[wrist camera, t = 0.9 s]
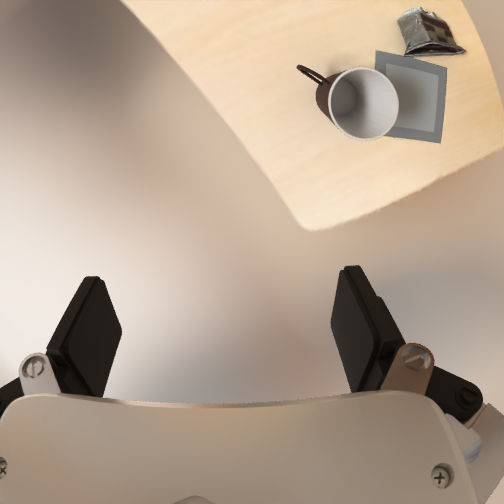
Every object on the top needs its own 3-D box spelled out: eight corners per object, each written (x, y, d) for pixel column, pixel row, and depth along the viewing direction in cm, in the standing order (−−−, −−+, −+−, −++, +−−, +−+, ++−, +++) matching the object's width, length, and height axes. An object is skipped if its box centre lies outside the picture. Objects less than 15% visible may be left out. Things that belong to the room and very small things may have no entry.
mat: (375, 50, 34) (376, 50, 34) (446, 68, 34) (446, 68, 34) (371, 134, 41) (372, 134, 40) (439, 143, 41) (440, 143, 41)
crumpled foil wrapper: (452, 14, 28) (433, -9, 22) (468, 53, 30) (454, 38, 24) (404, 27, 36) (374, 10, 29) (418, 63, 38) (392, 54, 31)
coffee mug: (376, 107, 38) (410, 118, 30) (329, 137, 41) (353, 154, 32) (332, 40, 33) (359, 31, 25) (282, 70, 36) (296, 68, 27)
